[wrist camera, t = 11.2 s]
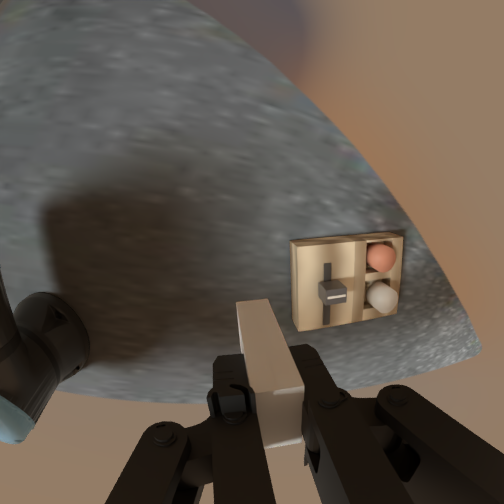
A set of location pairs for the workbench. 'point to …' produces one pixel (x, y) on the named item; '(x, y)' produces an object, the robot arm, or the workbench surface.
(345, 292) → the fader knob
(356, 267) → the console
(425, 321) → the workbench surface
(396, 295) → the button
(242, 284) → the workbench surface
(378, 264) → the button
